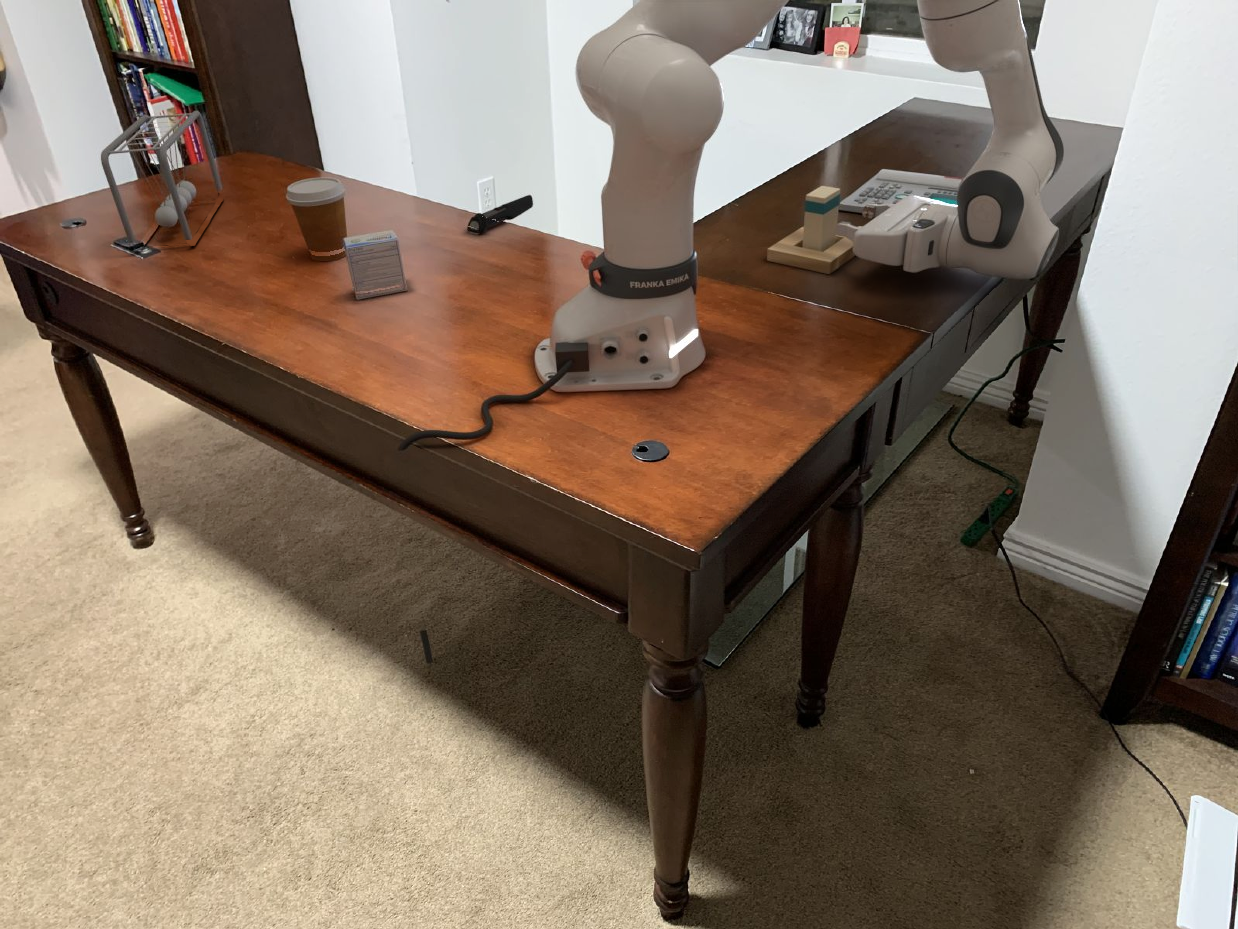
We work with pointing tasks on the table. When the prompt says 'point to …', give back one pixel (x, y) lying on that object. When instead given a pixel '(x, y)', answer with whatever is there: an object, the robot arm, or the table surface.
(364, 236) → the medicine box
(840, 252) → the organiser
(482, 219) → the electric trimmer
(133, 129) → the newton's cradle
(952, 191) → the office telephone
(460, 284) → the table surface
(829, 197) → the box
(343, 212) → the disposable coffee cup
